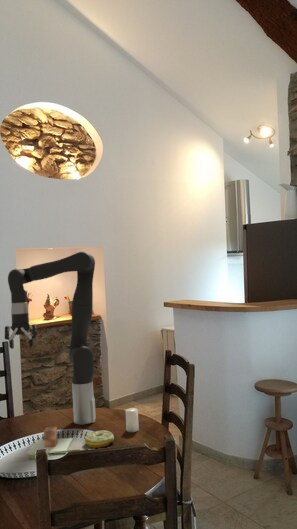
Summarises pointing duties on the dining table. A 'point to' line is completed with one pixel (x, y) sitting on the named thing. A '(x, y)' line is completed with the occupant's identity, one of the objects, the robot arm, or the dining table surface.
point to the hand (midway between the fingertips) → (21, 347)
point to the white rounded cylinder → (132, 420)
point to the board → (61, 446)
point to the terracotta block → (50, 437)
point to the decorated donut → (99, 439)
